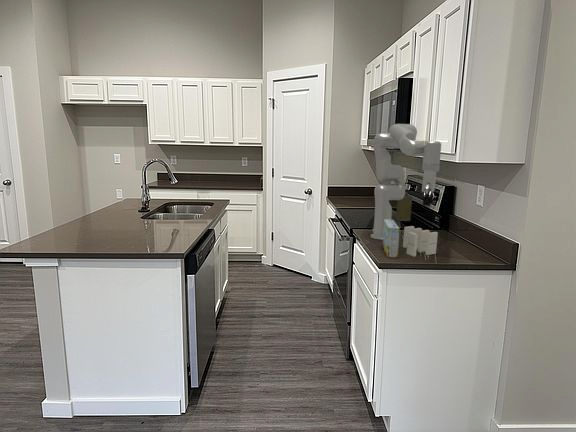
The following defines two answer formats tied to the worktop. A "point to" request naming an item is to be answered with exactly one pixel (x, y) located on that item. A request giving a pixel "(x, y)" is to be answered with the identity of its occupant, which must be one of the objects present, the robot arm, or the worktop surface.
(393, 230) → the snack box
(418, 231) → the domino
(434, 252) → the domino
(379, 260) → the worktop surface
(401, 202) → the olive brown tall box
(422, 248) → the domino
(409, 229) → the domino
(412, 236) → the domino
